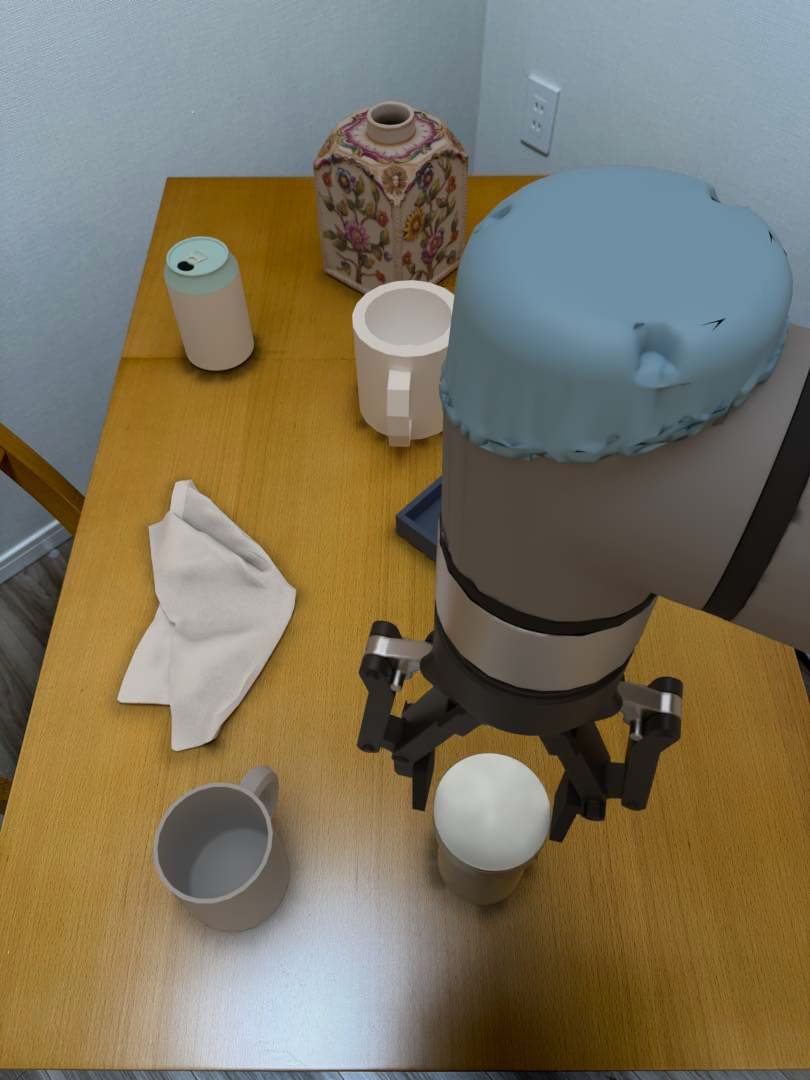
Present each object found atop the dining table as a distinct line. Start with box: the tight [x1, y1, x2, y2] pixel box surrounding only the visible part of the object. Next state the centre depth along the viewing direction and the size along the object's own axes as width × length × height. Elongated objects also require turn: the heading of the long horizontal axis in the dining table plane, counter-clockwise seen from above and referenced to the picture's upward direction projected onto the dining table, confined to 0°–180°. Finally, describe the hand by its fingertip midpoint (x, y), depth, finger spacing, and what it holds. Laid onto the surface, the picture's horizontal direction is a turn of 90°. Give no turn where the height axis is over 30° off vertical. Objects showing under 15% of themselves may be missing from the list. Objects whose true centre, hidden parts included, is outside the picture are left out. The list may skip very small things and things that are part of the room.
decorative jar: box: [312, 100, 470, 296], centre depth 90 cm, size 12×12×18 cm
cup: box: [152, 765, 290, 933], centre depth 56 cm, size 7×10×9 cm
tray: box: [395, 474, 442, 563], centre depth 74 cm, size 13×11×3 cm
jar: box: [437, 843, 526, 906], centre depth 55 cm, size 6×6×10 cm
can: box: [163, 235, 255, 371], centre depth 85 cm, size 7×7×12 cm
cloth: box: [116, 479, 297, 753], centre depth 71 cm, size 26×14×2 cm, turn 0°
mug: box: [351, 280, 455, 448], centre depth 80 cm, size 14×10×11 cm
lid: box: [431, 752, 552, 879], centre depth 51 cm, size 7×7×2 cm
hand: (490, 802), depth 50 cm, fingers open, 7 cm apart
